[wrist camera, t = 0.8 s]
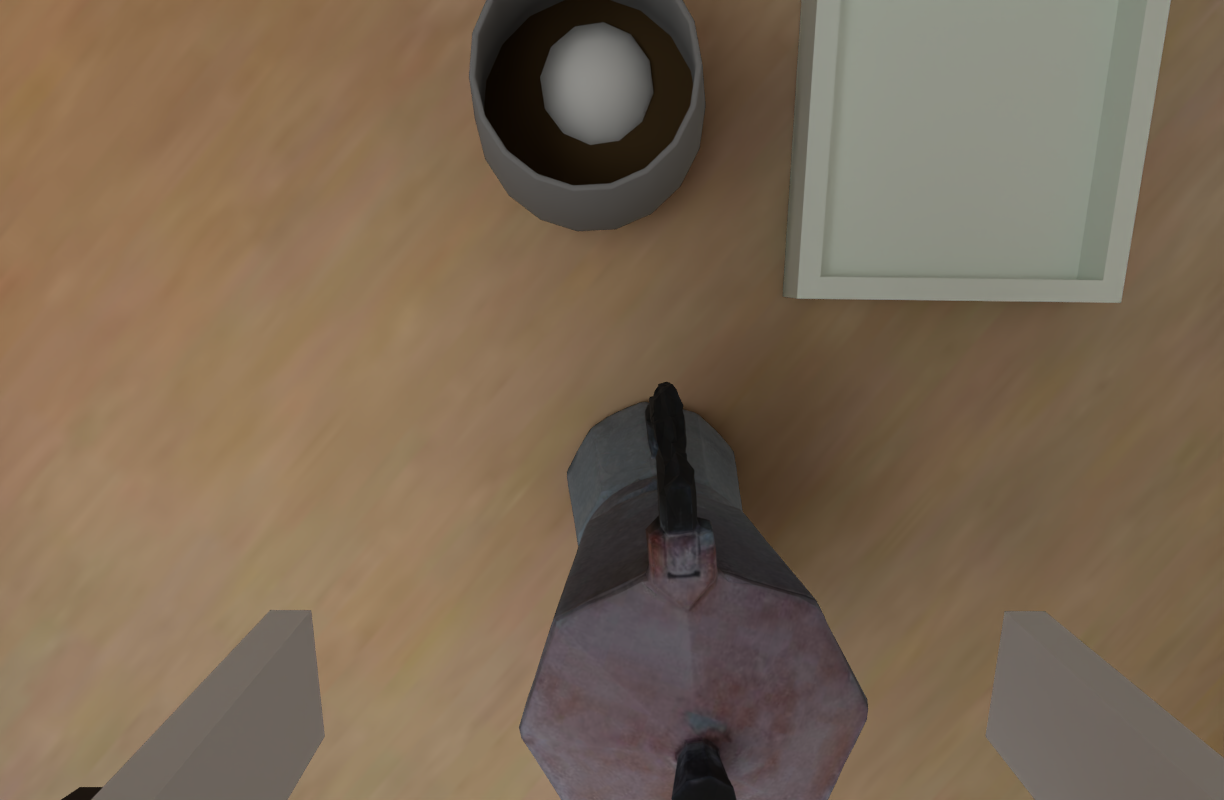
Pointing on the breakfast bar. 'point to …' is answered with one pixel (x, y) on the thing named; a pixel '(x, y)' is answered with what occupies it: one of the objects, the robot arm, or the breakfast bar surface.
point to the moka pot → (683, 634)
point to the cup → (588, 105)
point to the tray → (969, 148)
